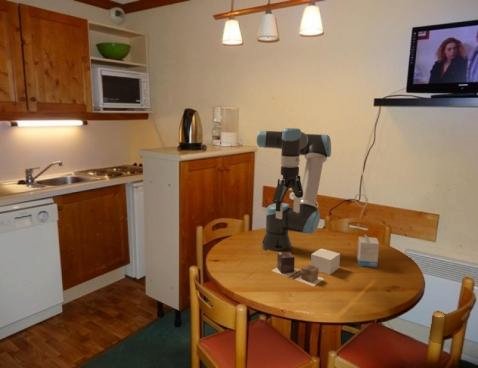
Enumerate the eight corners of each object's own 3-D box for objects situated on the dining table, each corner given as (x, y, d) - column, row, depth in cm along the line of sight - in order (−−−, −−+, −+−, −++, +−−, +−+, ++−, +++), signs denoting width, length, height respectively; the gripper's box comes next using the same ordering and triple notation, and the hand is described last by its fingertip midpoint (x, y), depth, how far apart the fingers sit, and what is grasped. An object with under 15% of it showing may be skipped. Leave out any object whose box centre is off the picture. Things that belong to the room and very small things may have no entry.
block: (301, 279, 145) (301, 268, 144) (307, 275, 149) (307, 264, 148) (311, 283, 142) (312, 271, 141) (317, 278, 146) (318, 267, 145)
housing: (310, 270, 156) (311, 254, 154) (320, 264, 163) (321, 248, 161) (329, 277, 150) (330, 260, 148) (338, 270, 157) (340, 253, 155)
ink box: (377, 267, 160) (380, 240, 157) (358, 265, 161) (361, 238, 159) (374, 260, 168) (376, 233, 165) (356, 258, 170) (358, 232, 167)
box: (294, 272, 151) (295, 257, 149) (281, 274, 150) (281, 258, 148) (289, 266, 157) (290, 251, 155) (276, 267, 155) (277, 252, 154)
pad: (271, 271, 153) (271, 270, 153) (282, 264, 159) (282, 264, 159) (288, 277, 147) (288, 277, 147) (299, 270, 154) (299, 270, 154)
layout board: (268, 273, 152) (268, 271, 152) (285, 263, 162) (285, 261, 162) (312, 290, 138) (313, 288, 138) (329, 278, 148) (329, 276, 148)
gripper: (280, 170, 132) (278, 223, 136) (312, 163, 150) (310, 210, 155) (264, 168, 137) (263, 219, 141) (297, 161, 155) (295, 207, 160)
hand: (287, 215), depth 148 cm, fingers open, 13 cm apart
